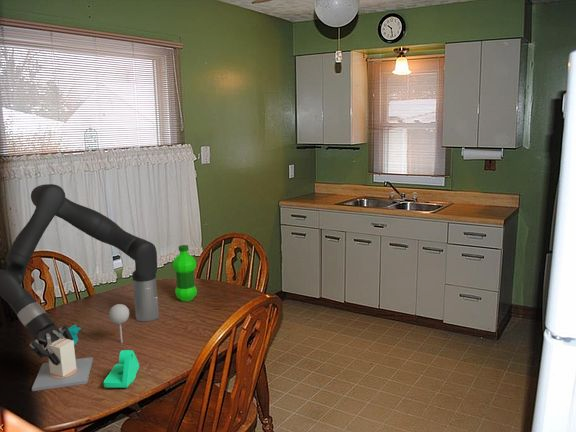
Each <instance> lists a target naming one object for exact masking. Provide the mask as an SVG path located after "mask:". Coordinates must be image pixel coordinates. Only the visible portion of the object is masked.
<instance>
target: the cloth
mask: <svg viewBox="0 0 576 432" xmlns="http://www.w3.org/2000/svg"><path fill="white" fill-rule="evenodd" d="M67 328H68V330H69V332H70V334H71V335H72V337H73V341H74V346H75V345H76V344H77V343H78V341H79V338H78V333H79V331H81V329H82V327H78V326H77V324H73V325H71V326H70V327H67ZM61 335H62V334H61ZM62 336H63V335H62Z"/></svg>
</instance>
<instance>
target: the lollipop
mask: <svg viewBox="0 0 576 432" xmlns="http://www.w3.org/2000/svg"><path fill="white" fill-rule="evenodd" d="M108 317H109V319H110V321H111V322H113V324H117V325H119V336H120V344H123V342H124V341H123V333H122V332H123V331H122V329H123V328H122V324H124V323H125V322H126V321H127V320H128V319H129V317H130V309H129V308H128V307H127V306H126V305H125V304H122V303H117V304H113V306H112V307H111V308H110V310H109V312H108Z"/></svg>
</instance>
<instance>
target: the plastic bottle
mask: <svg viewBox="0 0 576 432" xmlns="http://www.w3.org/2000/svg"><path fill="white" fill-rule="evenodd" d="M178 251H179V254H178V255H177V256H176V257H175V258H174V259H173V260H172V268H173V270H174V272H175V274H176V275H175V277H176V287H175V289H174V293H175V296H176V298H177V300H180V301H181V302H190V301H192V300H193V299H194V298H195V297H196V296H197V294H198V289H197V287H196V285H195V272H194V271H195V270H196V269H197V261H196V260H195V259H196V258H195V257H194V256H193V255H191V254H189V253H188V251H189V245H187V244H182V245H179V246H178Z"/></svg>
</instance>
